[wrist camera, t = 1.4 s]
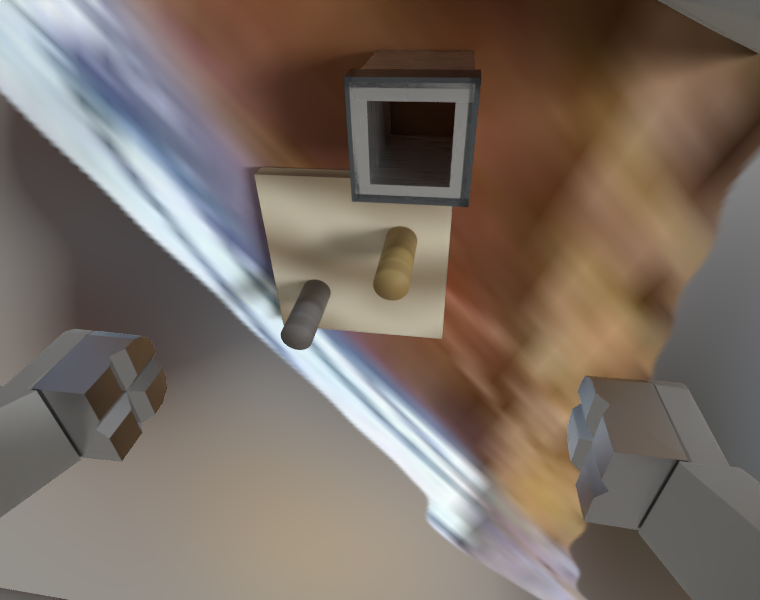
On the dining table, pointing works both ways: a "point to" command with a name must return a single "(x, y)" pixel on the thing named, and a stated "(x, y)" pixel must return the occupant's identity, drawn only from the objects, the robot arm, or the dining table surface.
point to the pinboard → (352, 257)
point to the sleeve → (411, 152)
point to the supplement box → (725, 18)
